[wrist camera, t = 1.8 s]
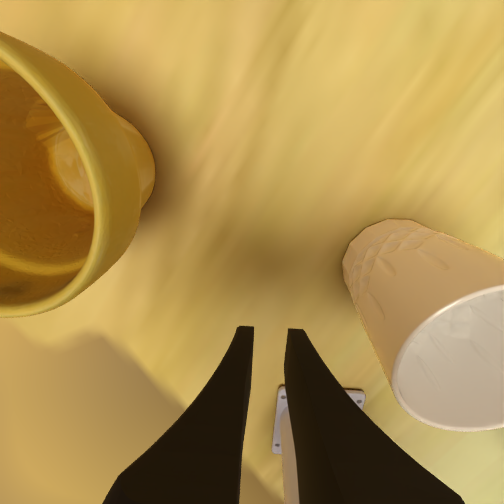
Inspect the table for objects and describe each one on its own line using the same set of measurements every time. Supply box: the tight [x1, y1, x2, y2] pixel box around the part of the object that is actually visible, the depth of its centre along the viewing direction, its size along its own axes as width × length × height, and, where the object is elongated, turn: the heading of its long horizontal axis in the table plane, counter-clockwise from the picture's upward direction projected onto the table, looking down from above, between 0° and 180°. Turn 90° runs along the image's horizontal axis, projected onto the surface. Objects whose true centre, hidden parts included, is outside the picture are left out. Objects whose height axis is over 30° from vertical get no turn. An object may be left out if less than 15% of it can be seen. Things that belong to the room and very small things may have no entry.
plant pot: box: [0, 32, 155, 318], centre depth 13 cm, size 10×10×10 cm
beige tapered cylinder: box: [342, 219, 504, 432], centre depth 16 cm, size 8×8×10 cm
